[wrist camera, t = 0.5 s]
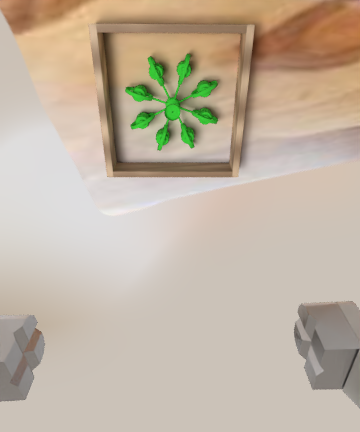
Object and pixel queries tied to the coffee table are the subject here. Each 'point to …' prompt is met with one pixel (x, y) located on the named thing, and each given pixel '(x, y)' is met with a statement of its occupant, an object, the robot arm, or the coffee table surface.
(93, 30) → the wooden corral
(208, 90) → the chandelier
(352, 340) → the robot arm
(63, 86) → the coffee table surface
